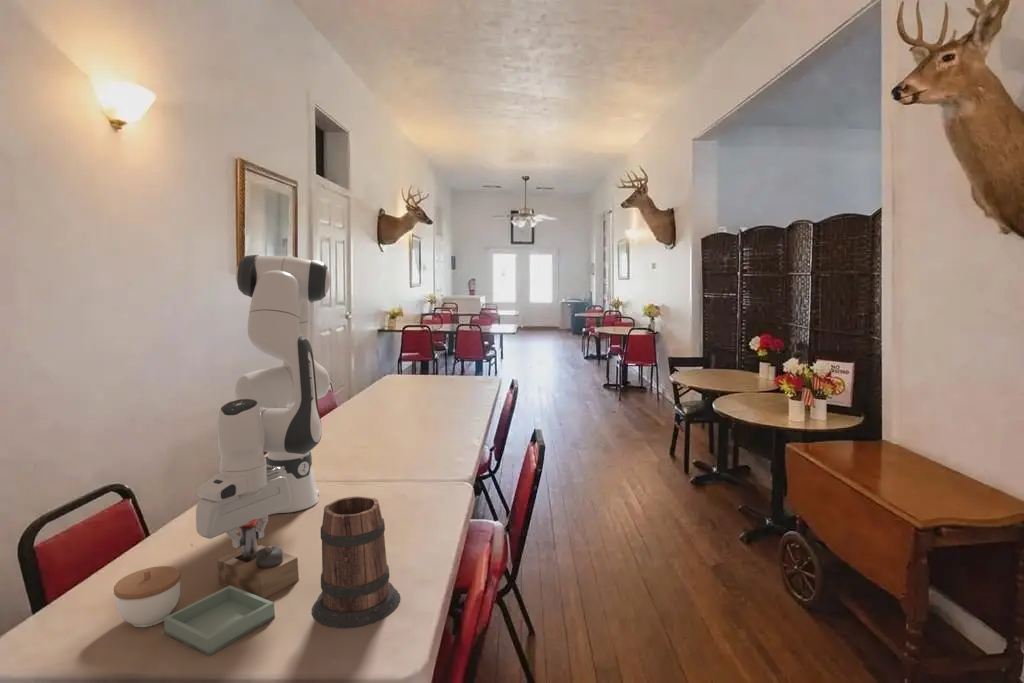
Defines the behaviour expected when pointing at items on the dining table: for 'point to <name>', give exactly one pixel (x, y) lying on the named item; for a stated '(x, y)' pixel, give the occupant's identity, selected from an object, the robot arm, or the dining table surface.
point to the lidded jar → (148, 595)
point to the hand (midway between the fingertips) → (248, 542)
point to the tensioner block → (259, 571)
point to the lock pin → (249, 541)
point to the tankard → (354, 566)
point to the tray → (219, 619)
